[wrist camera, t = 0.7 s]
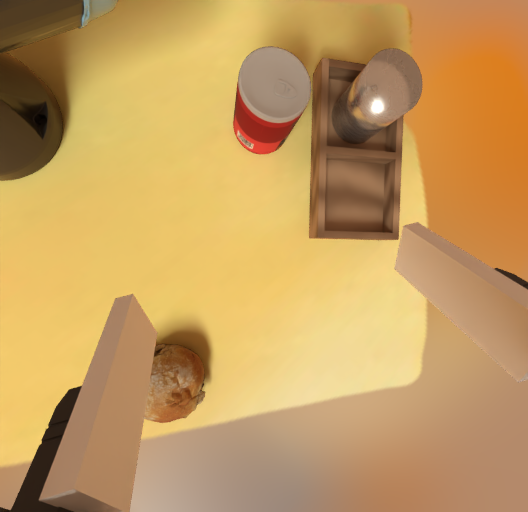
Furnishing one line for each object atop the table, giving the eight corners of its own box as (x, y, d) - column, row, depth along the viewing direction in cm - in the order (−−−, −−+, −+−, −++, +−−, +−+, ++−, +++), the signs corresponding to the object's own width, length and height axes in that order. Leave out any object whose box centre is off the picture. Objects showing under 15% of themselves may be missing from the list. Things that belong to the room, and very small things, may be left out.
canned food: (285, 157, 38) (311, 123, 27) (232, 154, 37) (238, 116, 26) (285, 106, 38) (312, 50, 27) (232, 101, 36) (238, 40, 26)
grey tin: (321, 112, 38) (353, 71, 29) (358, 83, 39) (399, 35, 30) (350, 153, 39) (389, 127, 30) (385, 125, 40) (433, 91, 31)
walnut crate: (383, 240, 42) (398, 239, 38) (309, 238, 39) (317, 237, 36) (389, 85, 41) (405, 70, 37) (313, 74, 38) (322, 57, 35)
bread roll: (190, 330, 40) (168, 328, 33) (223, 389, 37) (208, 401, 30) (136, 368, 39) (101, 375, 32) (166, 432, 36) (135, 456, 29)
